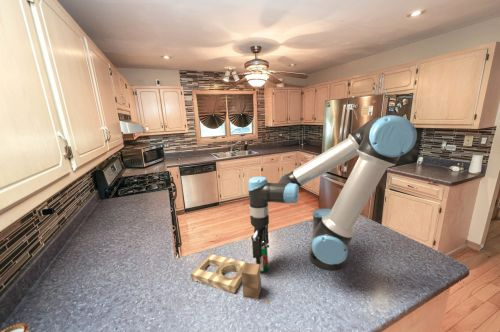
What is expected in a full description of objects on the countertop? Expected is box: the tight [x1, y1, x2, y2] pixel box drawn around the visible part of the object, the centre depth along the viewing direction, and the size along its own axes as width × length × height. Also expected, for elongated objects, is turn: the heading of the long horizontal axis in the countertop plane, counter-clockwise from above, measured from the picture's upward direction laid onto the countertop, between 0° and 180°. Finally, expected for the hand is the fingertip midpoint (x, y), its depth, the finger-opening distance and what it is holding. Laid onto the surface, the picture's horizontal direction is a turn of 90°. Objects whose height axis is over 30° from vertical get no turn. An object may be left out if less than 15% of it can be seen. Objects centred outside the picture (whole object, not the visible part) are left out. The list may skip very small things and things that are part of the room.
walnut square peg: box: [241, 262, 262, 300], centre depth 76 cm, size 6×6×10 cm
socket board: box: [190, 253, 247, 294], centre depth 86 cm, size 20×14×3 cm
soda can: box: [260, 241, 269, 273], centre depth 87 cm, size 5×5×12 cm
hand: (262, 265), depth 88 cm, fingers closed on soda can, 5 cm apart
